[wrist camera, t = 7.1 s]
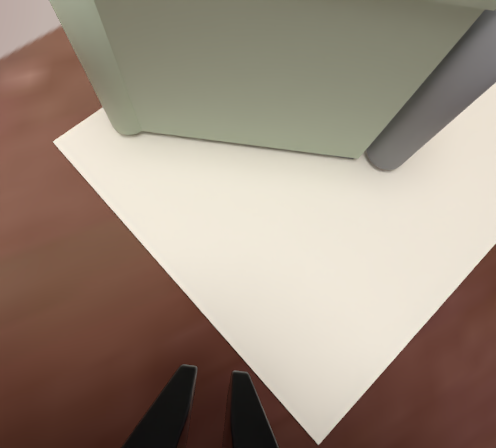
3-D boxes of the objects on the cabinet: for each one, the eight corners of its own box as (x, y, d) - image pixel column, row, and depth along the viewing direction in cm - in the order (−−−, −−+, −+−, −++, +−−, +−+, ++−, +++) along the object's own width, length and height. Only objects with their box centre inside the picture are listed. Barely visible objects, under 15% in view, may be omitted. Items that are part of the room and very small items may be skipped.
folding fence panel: (405, 135, 19) (614, -76, 9) (406, 172, 19) (629, -10, 9) (114, 97, 18) (-6, -182, 8) (106, 134, 18) (-33, -117, 8)
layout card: (598, 123, 21) (604, 119, 21) (316, 442, 16) (318, 445, 15) (368, -72, 24) (371, -78, 23) (55, 144, 18) (52, 140, 18)
